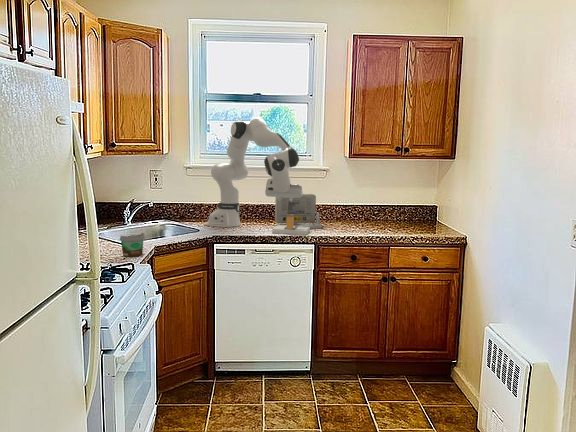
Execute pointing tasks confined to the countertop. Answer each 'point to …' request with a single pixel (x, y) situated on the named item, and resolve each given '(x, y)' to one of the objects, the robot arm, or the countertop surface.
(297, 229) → the switch panel
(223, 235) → the countertop surface
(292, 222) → the switch tab
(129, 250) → the food container
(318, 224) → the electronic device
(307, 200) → the network device
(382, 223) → the countertop surface
